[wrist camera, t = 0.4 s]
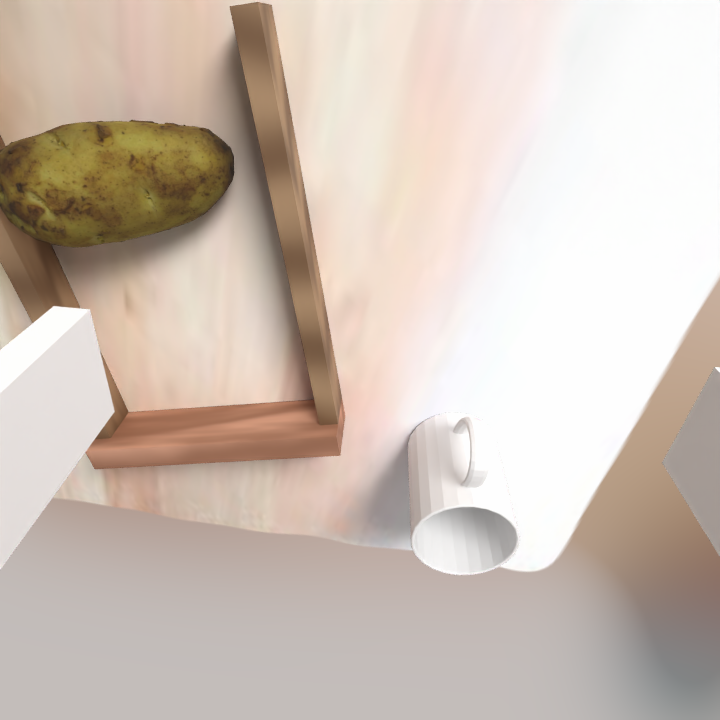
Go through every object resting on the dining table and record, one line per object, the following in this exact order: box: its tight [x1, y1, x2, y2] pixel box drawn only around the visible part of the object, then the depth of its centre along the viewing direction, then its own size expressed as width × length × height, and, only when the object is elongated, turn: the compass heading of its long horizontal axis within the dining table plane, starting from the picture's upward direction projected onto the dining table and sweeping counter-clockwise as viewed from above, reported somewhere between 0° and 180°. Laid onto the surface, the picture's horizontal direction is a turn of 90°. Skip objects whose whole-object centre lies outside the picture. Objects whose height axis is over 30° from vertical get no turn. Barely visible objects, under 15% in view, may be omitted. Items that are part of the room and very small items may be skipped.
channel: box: [0, 2, 345, 469], centre depth 36 cm, size 30×21×5 cm
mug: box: [408, 412, 520, 575], centre depth 41 cm, size 12×8×10 cm, turn 177°
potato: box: [0, 120, 234, 247], centre depth 31 cm, size 8×13×8 cm, turn 79°
